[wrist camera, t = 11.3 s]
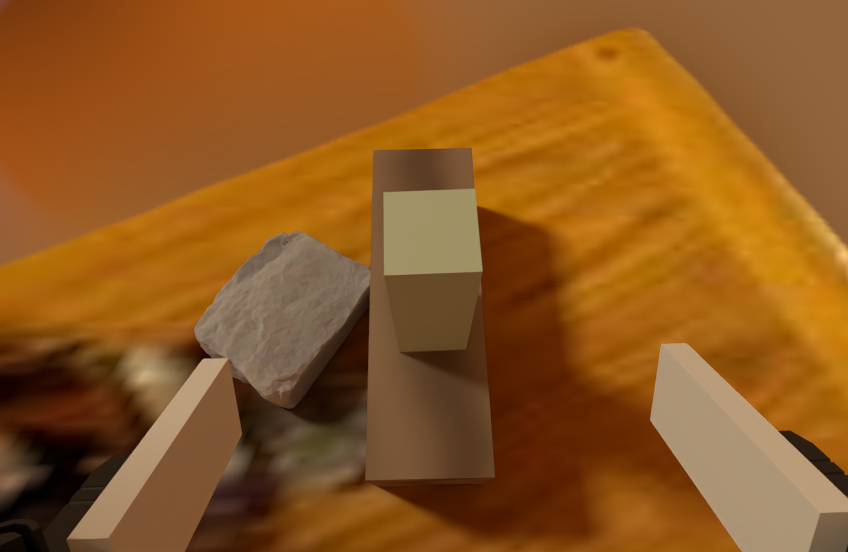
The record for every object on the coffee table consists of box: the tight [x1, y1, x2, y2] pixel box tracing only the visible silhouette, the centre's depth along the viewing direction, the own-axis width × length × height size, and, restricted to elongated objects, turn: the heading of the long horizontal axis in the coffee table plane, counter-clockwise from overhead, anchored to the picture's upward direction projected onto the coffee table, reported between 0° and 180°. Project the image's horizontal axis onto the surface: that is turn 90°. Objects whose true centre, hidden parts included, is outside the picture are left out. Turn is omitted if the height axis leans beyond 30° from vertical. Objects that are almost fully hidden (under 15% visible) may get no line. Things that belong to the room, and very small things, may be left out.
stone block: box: [194, 231, 371, 409], centre depth 39 cm, size 12×5×10 cm
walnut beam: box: [365, 148, 495, 487], centre depth 36 cm, size 7×22×7 cm, turn 1°
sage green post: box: [383, 189, 483, 352], centre depth 27 cm, size 4×4×11 cm
